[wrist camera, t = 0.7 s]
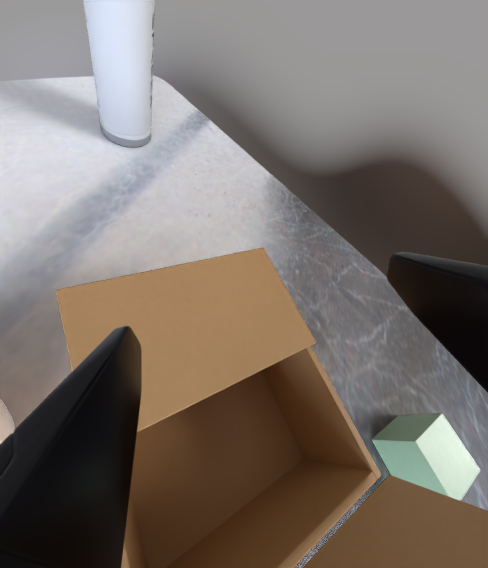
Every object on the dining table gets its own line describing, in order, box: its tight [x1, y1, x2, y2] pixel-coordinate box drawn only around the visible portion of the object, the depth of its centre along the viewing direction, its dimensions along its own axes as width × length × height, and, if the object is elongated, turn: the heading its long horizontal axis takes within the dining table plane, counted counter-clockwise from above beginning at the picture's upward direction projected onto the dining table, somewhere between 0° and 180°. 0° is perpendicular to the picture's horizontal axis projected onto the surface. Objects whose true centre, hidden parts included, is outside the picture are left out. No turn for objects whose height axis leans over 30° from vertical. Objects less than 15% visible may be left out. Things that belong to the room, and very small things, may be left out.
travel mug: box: [83, 0, 155, 147], centre depth 27 cm, size 6×7×20 cm
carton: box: [56, 248, 381, 568], centre depth 18 cm, size 17×14×9 cm
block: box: [371, 413, 480, 501], centre depth 24 cm, size 5×5×5 cm
